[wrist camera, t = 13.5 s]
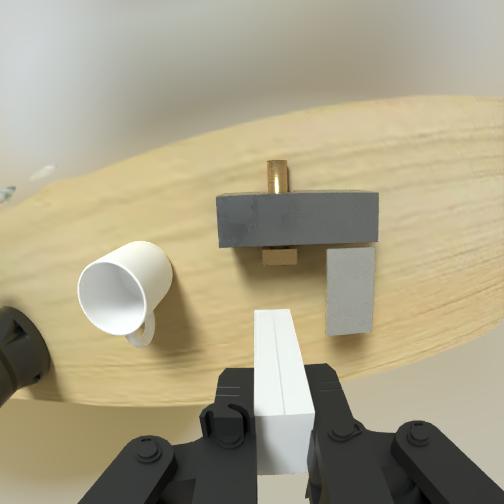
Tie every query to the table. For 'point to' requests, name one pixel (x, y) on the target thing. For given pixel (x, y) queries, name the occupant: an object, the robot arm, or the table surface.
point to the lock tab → (349, 290)
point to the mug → (126, 290)
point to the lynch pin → (278, 184)
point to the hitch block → (297, 218)
